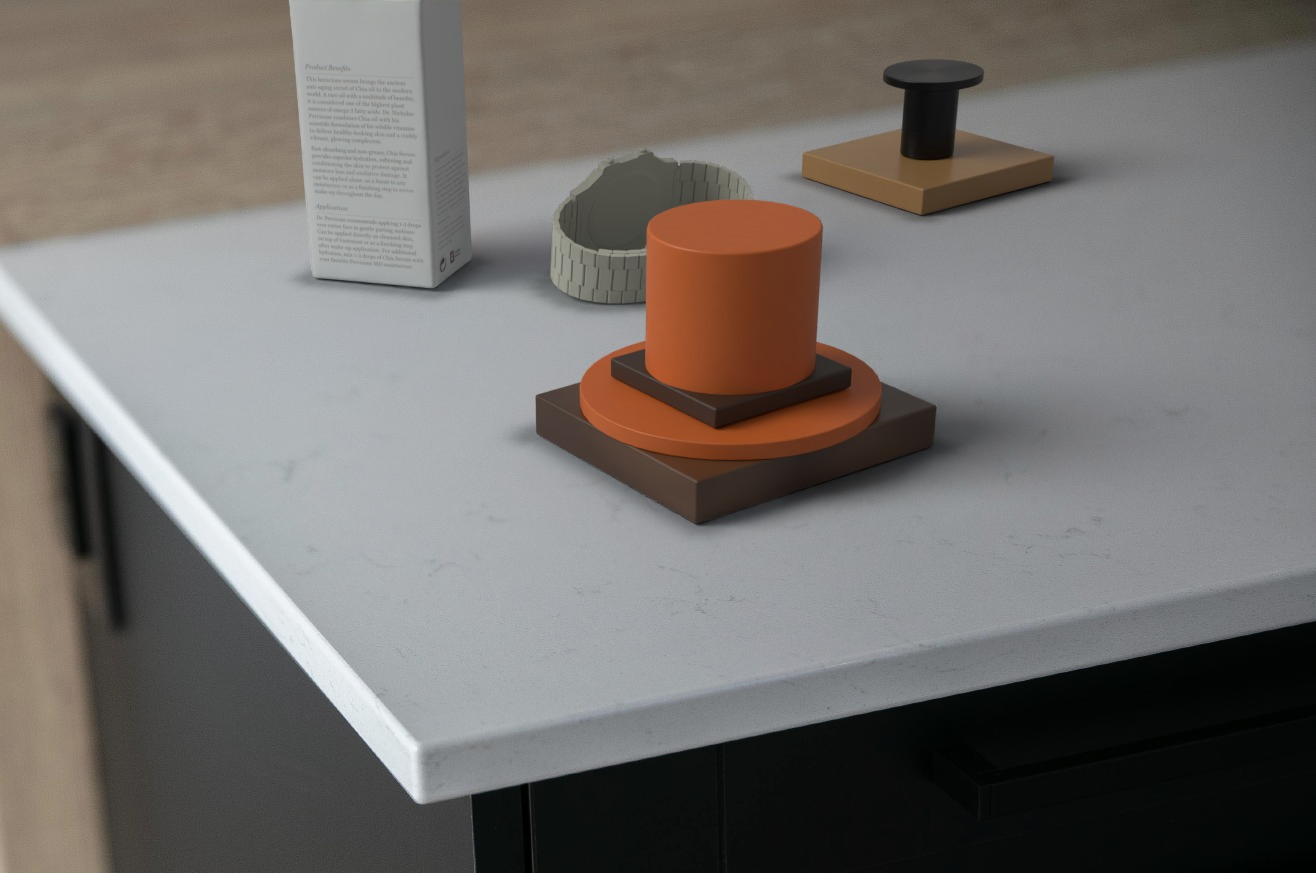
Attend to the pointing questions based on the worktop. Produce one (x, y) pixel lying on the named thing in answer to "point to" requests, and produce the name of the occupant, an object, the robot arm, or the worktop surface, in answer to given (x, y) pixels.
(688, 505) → the shelf board
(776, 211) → the hat
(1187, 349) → the worktop surface
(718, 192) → the wristwatch
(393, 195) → the cosmetic box
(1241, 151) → the worktop surface
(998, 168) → the stand
